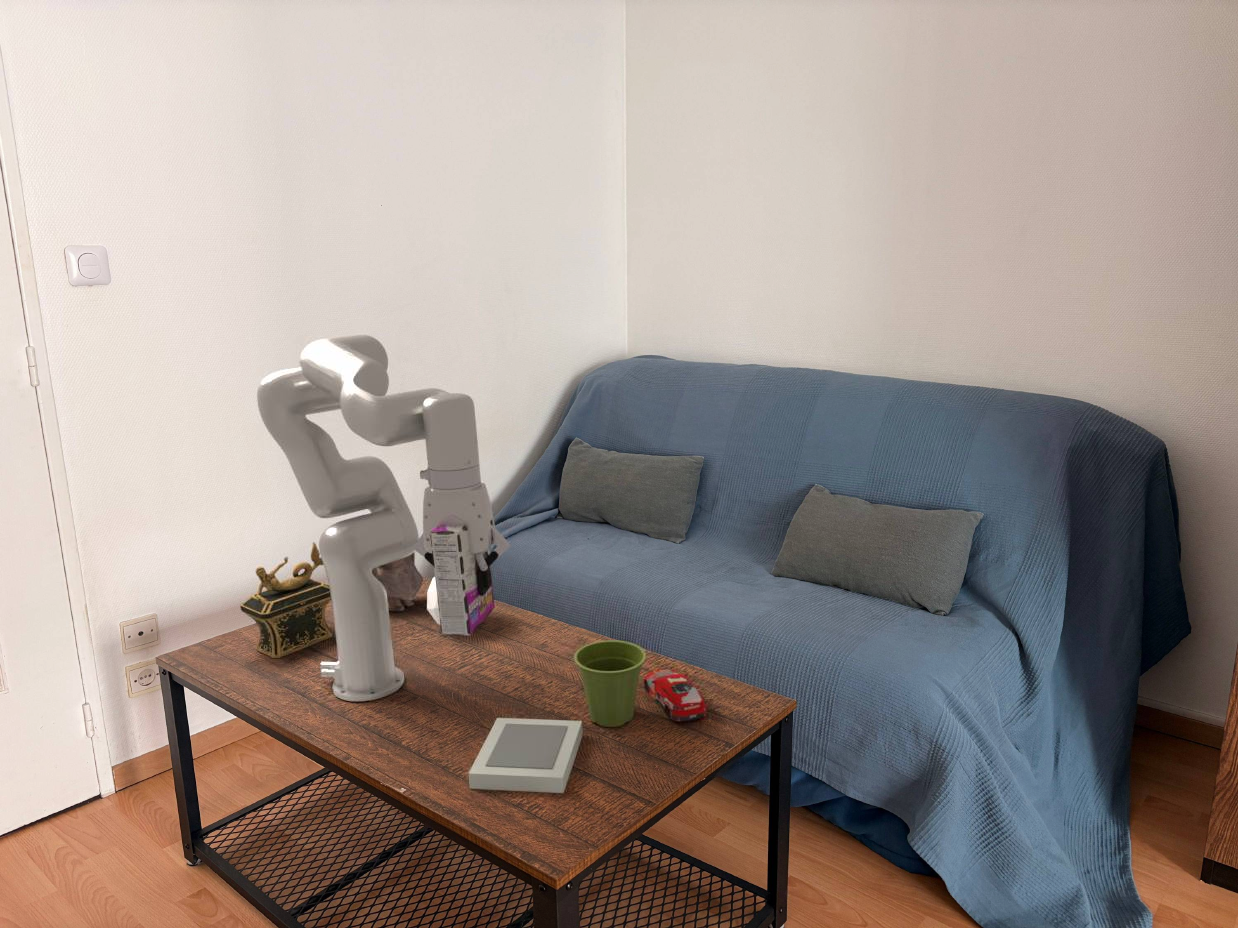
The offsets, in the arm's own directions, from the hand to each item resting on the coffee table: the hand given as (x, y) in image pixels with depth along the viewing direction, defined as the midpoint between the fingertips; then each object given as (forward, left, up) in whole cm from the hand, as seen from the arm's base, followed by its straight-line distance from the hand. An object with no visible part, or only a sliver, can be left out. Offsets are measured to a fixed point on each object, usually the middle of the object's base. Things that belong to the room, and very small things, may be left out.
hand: (465, 591), depth 140 cm
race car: (+30, +16, -26) cm, 43 cm away
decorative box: (-48, +36, -26) cm, 65 cm away
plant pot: (+20, +10, -26) cm, 34 cm away
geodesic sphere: (-17, +45, -26) cm, 54 cm away
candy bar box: (0, 0, -5) cm, 5 cm away
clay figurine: (-34, +54, -26) cm, 69 cm away
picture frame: (+9, -4, -26) cm, 28 cm away
